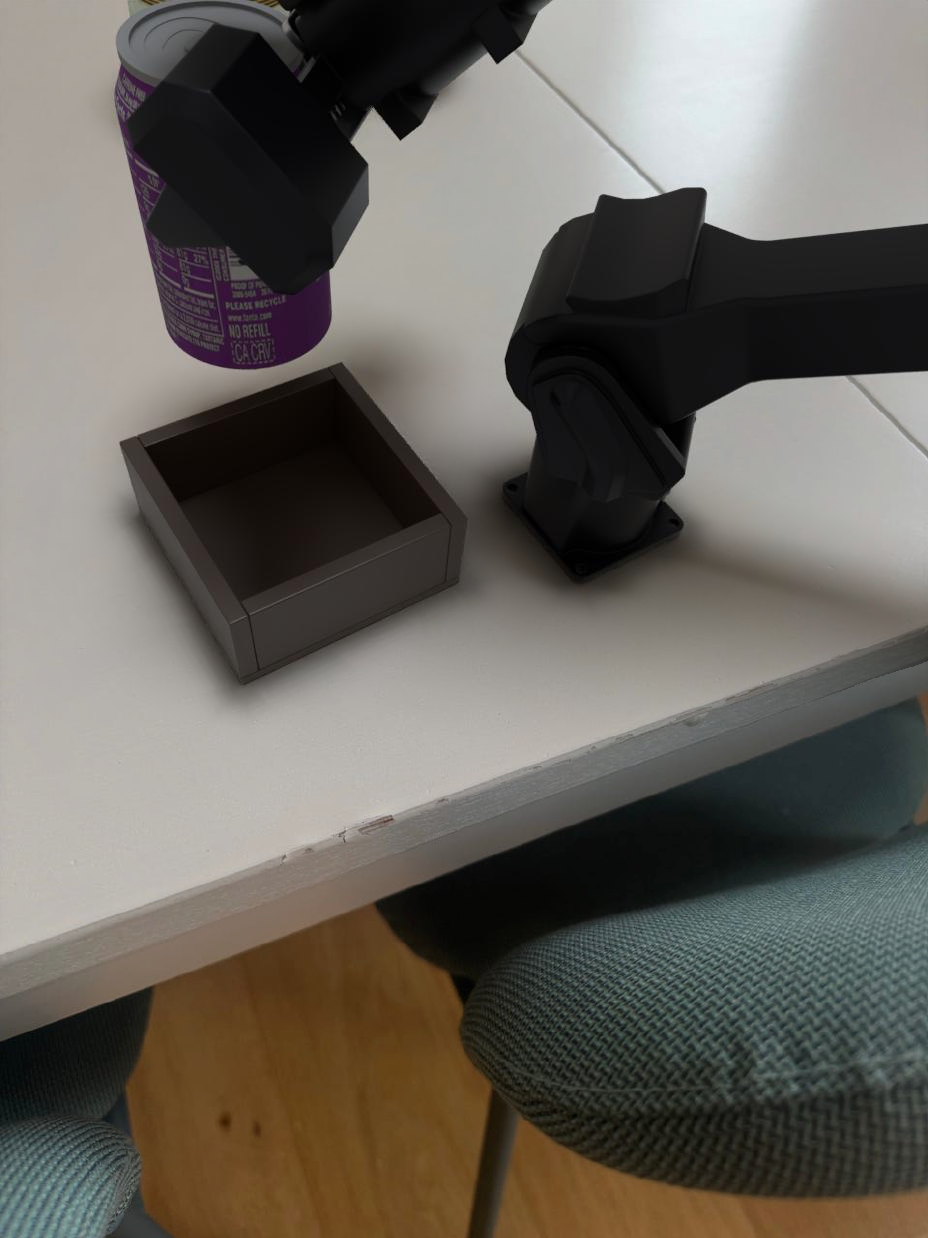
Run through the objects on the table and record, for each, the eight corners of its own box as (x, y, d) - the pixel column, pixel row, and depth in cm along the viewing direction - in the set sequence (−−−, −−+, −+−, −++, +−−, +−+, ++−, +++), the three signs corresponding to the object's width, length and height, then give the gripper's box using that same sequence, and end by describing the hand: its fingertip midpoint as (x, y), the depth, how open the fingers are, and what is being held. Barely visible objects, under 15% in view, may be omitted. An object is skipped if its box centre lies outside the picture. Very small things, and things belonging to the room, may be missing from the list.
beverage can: (358, 303, 43) (351, 18, 33) (288, 403, 39) (256, 113, 29) (218, 261, 44) (170, -28, 34) (136, 354, 40) (56, 58, 30)
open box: (242, 685, 39) (229, 624, 35) (139, 511, 43) (118, 441, 40) (459, 582, 43) (468, 517, 39) (344, 431, 47) (341, 361, 44)
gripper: (411, -500, 27) (134, -112, 37) (115, -359, 17) (-158, 127, 27) (622, -121, 33) (334, 127, 43) (498, 158, 23) (156, 399, 33)
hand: (197, 181), depth 36 cm, fingers closed on beverage can, 7 cm apart
